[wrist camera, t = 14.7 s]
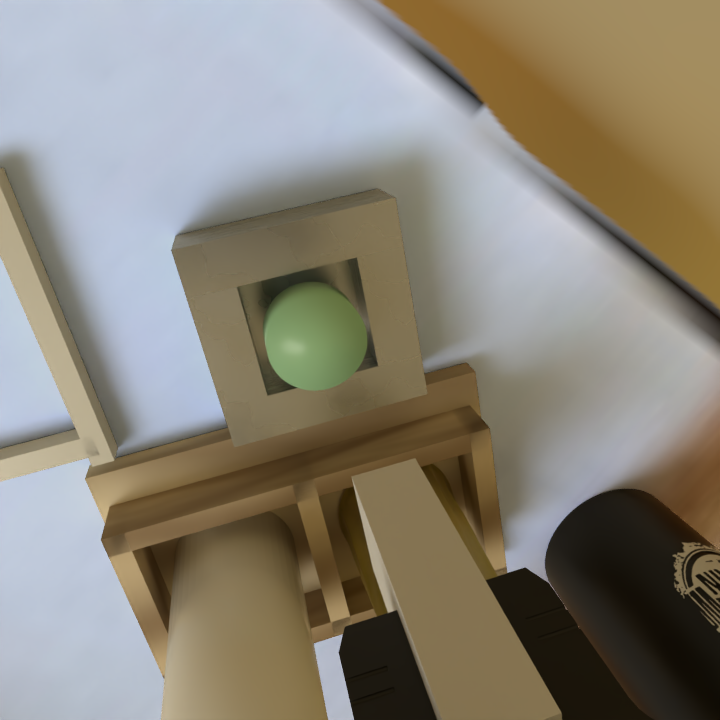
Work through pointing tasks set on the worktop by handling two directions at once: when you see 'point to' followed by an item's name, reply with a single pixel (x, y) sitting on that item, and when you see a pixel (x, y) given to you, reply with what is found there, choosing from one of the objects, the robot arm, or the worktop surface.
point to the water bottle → (644, 600)
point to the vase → (359, 547)
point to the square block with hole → (284, 269)
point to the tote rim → (49, 357)
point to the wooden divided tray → (292, 496)
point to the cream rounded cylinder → (240, 627)
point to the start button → (314, 336)
